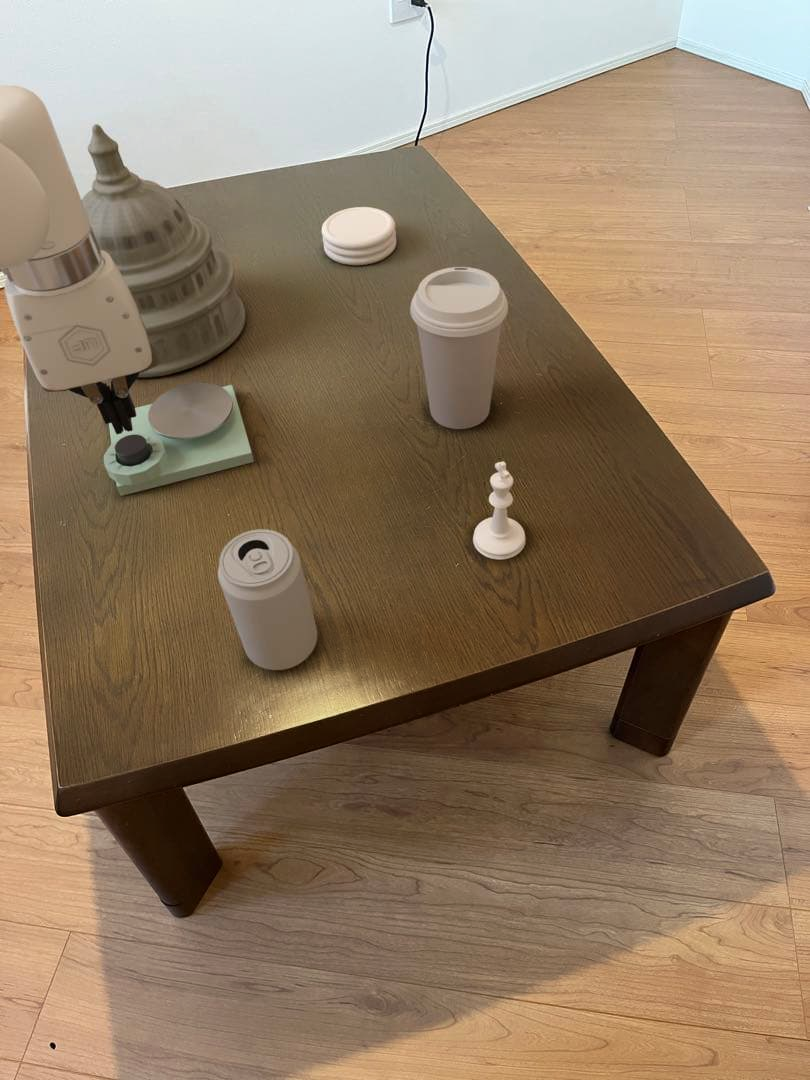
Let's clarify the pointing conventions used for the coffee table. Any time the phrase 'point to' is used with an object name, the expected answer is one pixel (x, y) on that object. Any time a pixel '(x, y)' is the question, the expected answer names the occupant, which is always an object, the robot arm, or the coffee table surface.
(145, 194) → the dome
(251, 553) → the beverage can
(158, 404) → the plate
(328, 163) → the coffee table surface
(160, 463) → the scale
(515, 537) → the chess piece
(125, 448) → the button
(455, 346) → the coffee cup
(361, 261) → the coaster
